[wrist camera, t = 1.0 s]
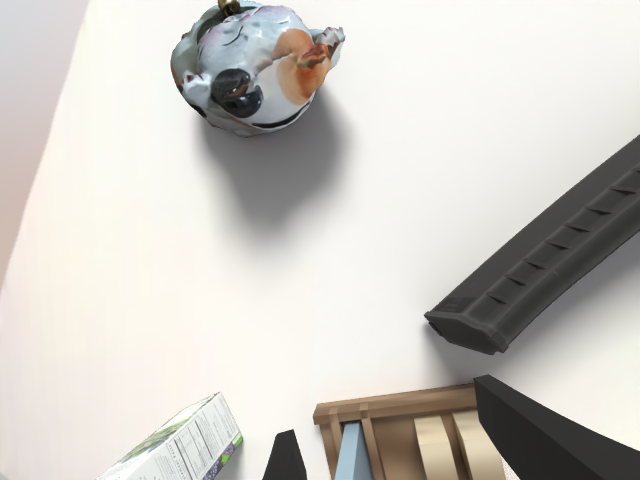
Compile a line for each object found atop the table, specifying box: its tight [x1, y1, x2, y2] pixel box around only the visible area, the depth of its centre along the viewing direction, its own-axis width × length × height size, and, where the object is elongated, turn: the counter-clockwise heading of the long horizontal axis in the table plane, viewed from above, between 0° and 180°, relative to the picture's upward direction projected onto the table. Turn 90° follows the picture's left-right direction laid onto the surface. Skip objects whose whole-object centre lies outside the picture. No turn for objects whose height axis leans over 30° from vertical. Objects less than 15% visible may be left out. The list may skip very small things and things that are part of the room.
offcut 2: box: [452, 410, 506, 480], centre depth 26 cm, size 7×2×4 cm, turn 13°
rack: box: [313, 383, 477, 480], centre depth 28 cm, size 11×16×2 cm
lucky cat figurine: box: [171, 0, 345, 137], centre depth 27 cm, size 15×12×14 cm
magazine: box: [424, 135, 640, 355], centre depth 22 cm, size 17×3×30 cm
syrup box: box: [96, 392, 243, 480], centre depth 27 cm, size 6×6×14 cm
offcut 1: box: [414, 414, 458, 480], centre depth 26 cm, size 7×2×4 cm, turn 13°
